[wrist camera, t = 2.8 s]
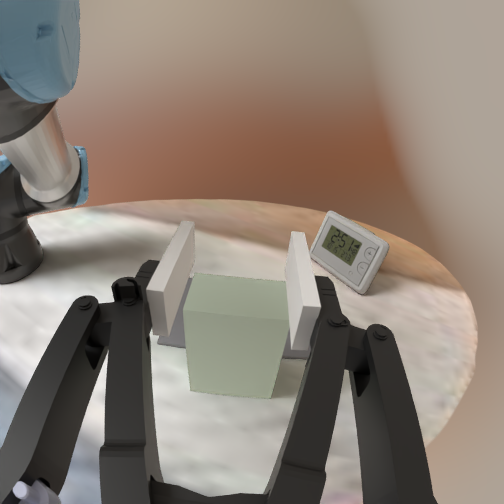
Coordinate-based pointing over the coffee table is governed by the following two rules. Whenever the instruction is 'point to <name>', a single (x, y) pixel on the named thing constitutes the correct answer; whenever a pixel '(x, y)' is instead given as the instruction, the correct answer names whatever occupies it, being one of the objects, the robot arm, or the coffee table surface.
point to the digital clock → (348, 251)
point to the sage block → (235, 334)
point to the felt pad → (178, 332)
